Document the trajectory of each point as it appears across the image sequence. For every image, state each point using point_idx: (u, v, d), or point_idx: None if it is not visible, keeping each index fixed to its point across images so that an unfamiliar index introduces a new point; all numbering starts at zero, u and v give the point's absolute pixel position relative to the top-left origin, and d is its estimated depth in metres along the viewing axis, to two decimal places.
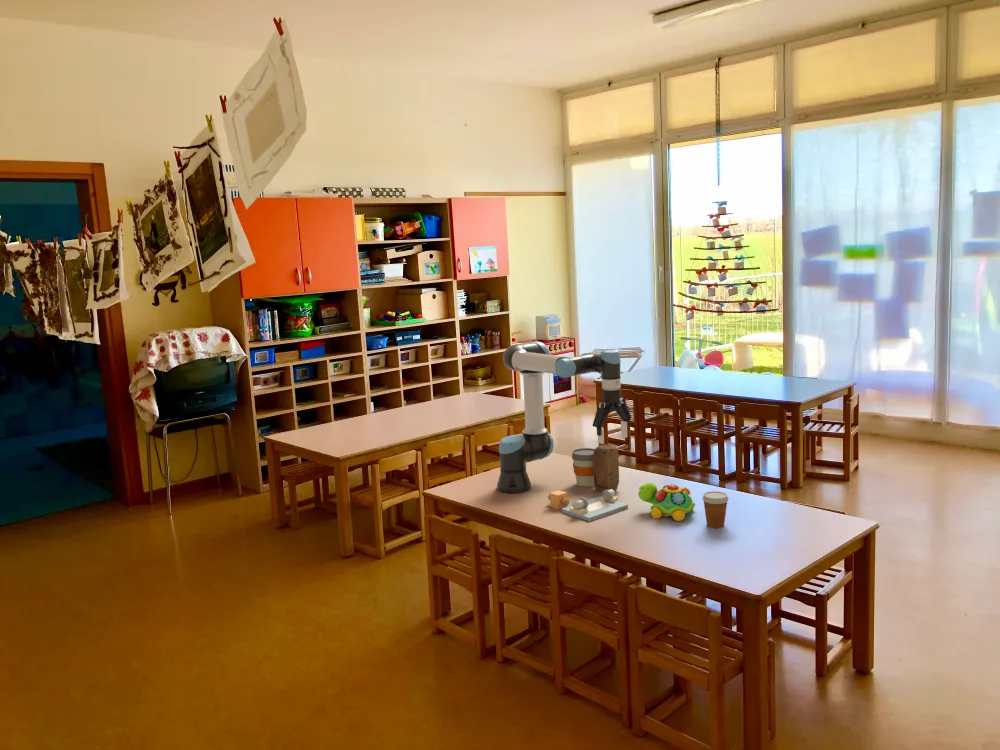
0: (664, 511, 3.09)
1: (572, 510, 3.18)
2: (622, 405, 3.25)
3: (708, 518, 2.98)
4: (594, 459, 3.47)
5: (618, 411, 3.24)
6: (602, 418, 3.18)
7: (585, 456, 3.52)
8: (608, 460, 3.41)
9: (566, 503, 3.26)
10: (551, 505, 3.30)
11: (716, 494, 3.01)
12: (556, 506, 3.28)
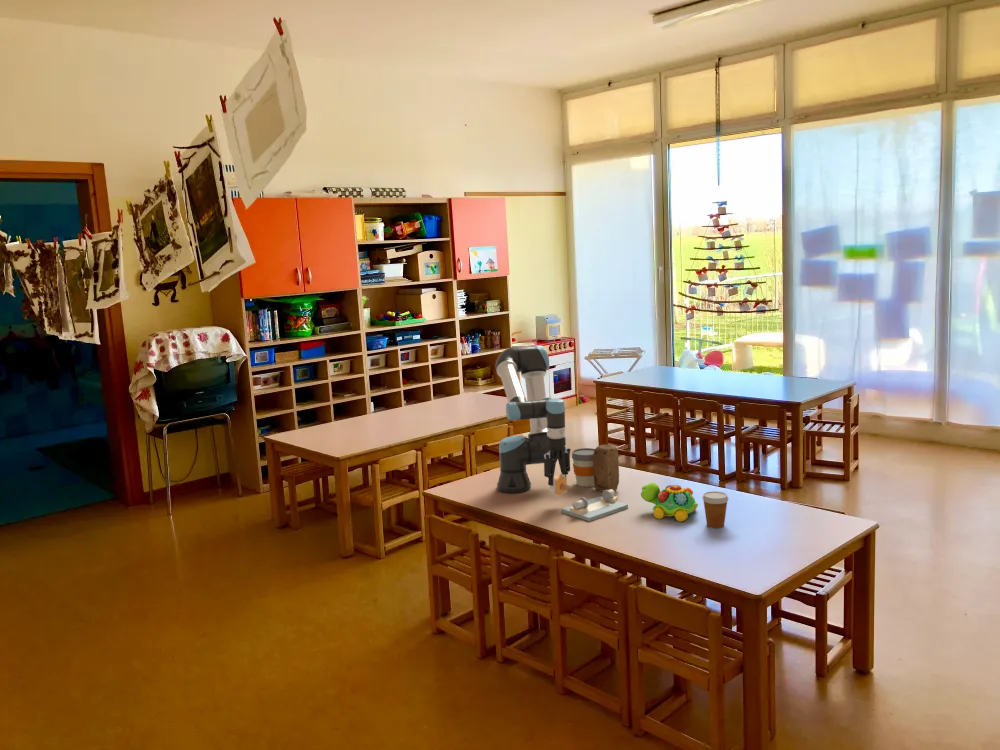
0: (666, 511, 3.09)
1: (572, 510, 3.18)
2: (565, 454, 3.31)
3: (708, 518, 2.98)
4: (594, 459, 3.47)
5: (560, 460, 3.29)
6: (551, 468, 3.26)
7: (585, 456, 3.52)
8: (608, 460, 3.41)
9: (566, 488, 3.26)
10: None
11: (716, 494, 3.01)
12: (556, 492, 3.27)
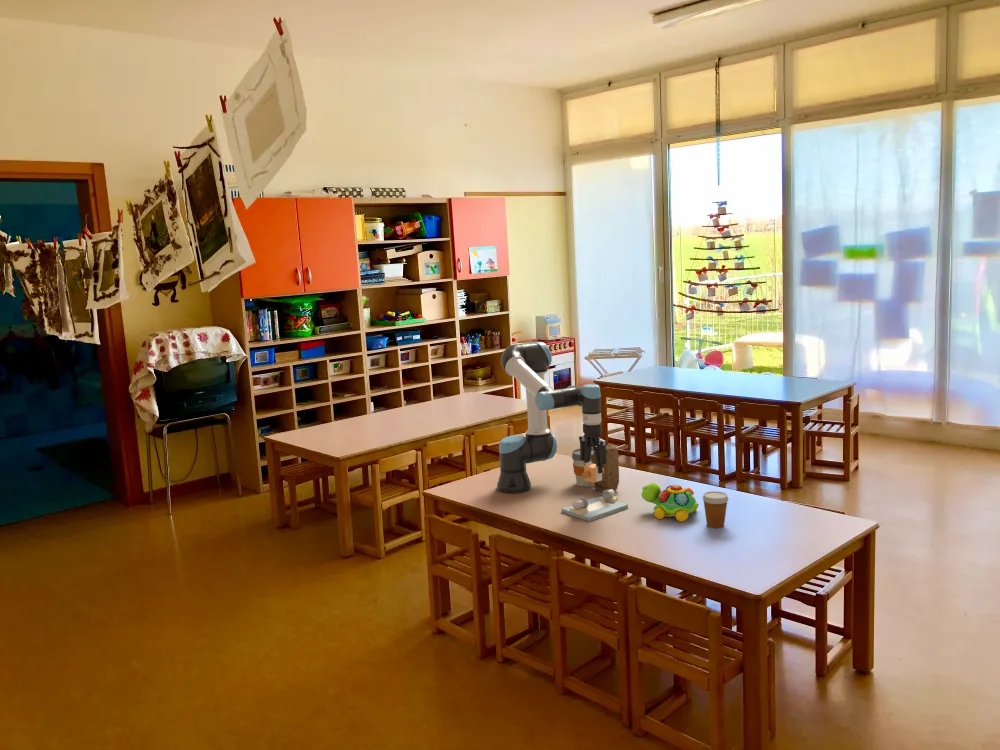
0: (667, 511, 3.09)
1: (572, 510, 3.18)
2: None
3: (708, 518, 2.98)
4: (594, 459, 3.47)
5: None
6: None
7: None
8: (608, 460, 3.41)
9: (583, 476, 3.19)
10: None
11: (716, 494, 3.01)
12: None
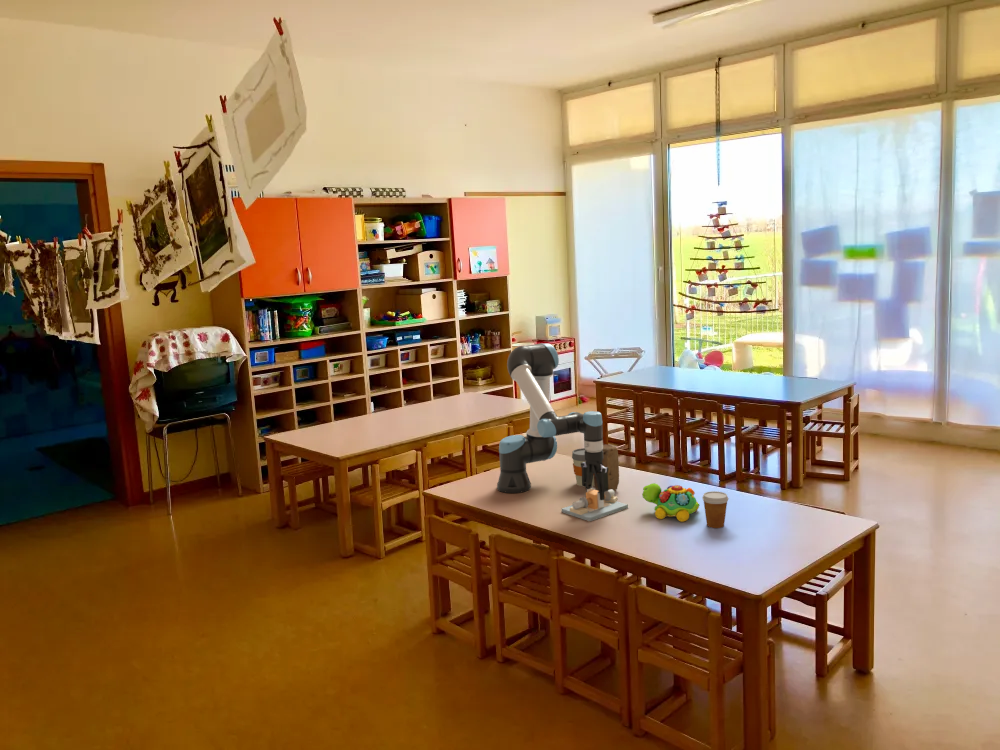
0: (668, 512, 3.08)
1: (572, 510, 3.18)
2: None
3: (708, 518, 2.98)
4: None
5: None
6: None
7: None
8: (608, 460, 3.41)
9: None
10: None
11: (716, 494, 3.01)
12: None
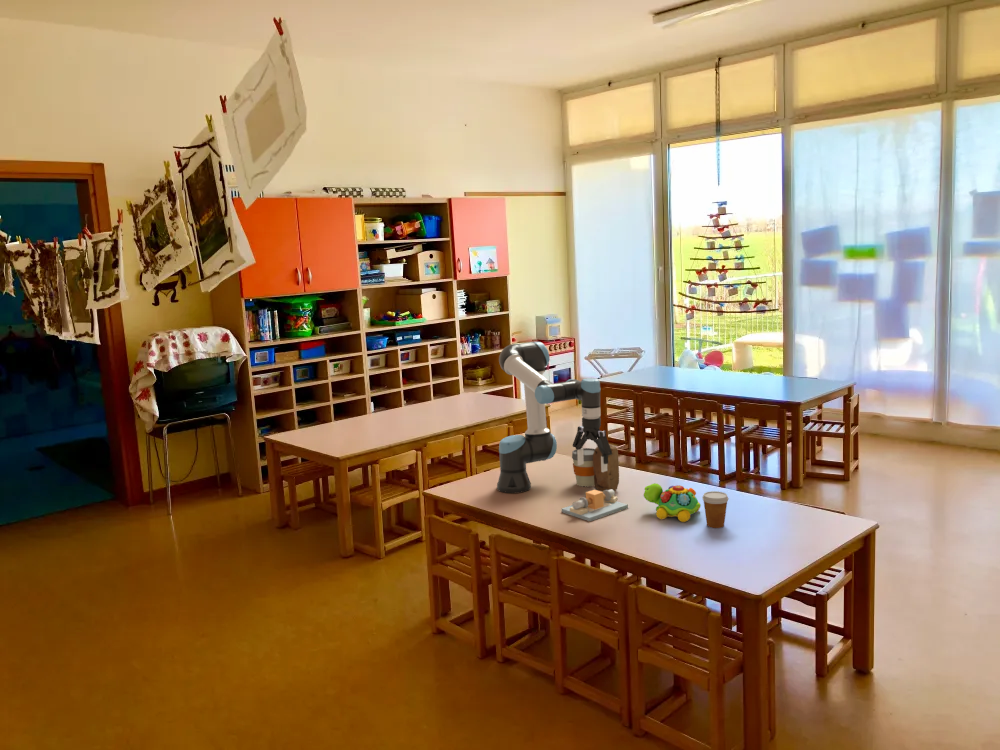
0: (669, 512, 3.08)
1: (572, 510, 3.18)
2: None
3: (708, 518, 2.98)
4: (594, 459, 3.47)
5: None
6: None
7: (585, 456, 3.52)
8: (608, 460, 3.41)
9: None
10: None
11: (716, 494, 3.01)
12: None
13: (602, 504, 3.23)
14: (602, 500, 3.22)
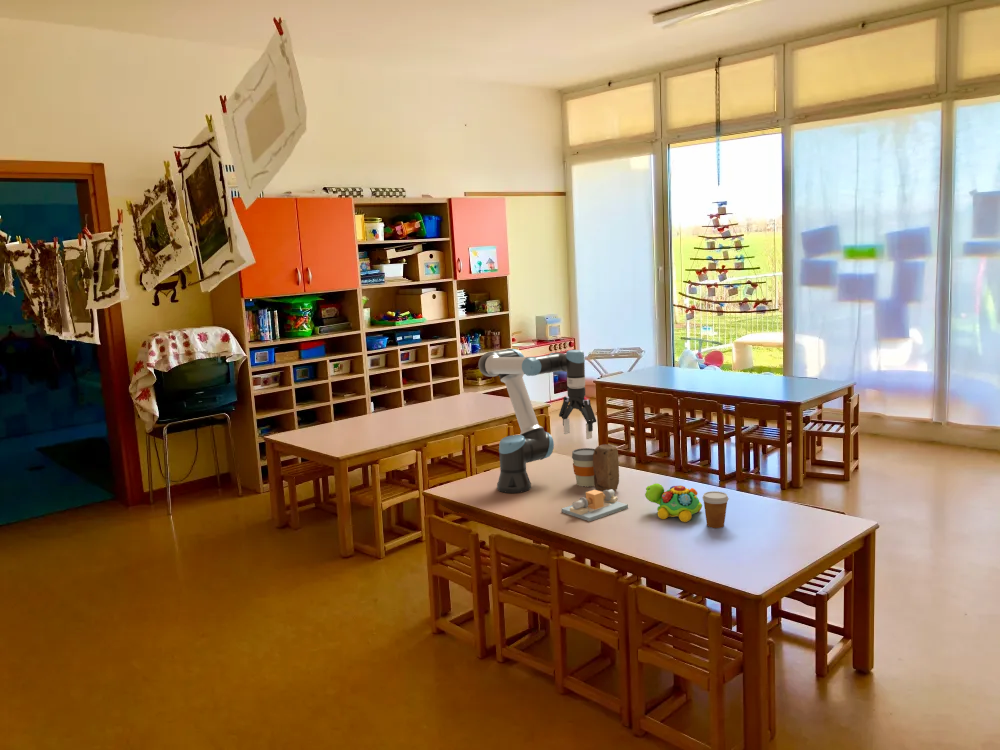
0: (670, 512, 3.08)
1: (572, 510, 3.18)
2: None
3: (708, 518, 2.98)
4: (594, 459, 3.47)
5: None
6: None
7: (585, 456, 3.52)
8: (608, 460, 3.41)
9: None
10: None
11: (716, 494, 3.01)
12: None
13: (602, 504, 3.23)
14: (602, 500, 3.22)
